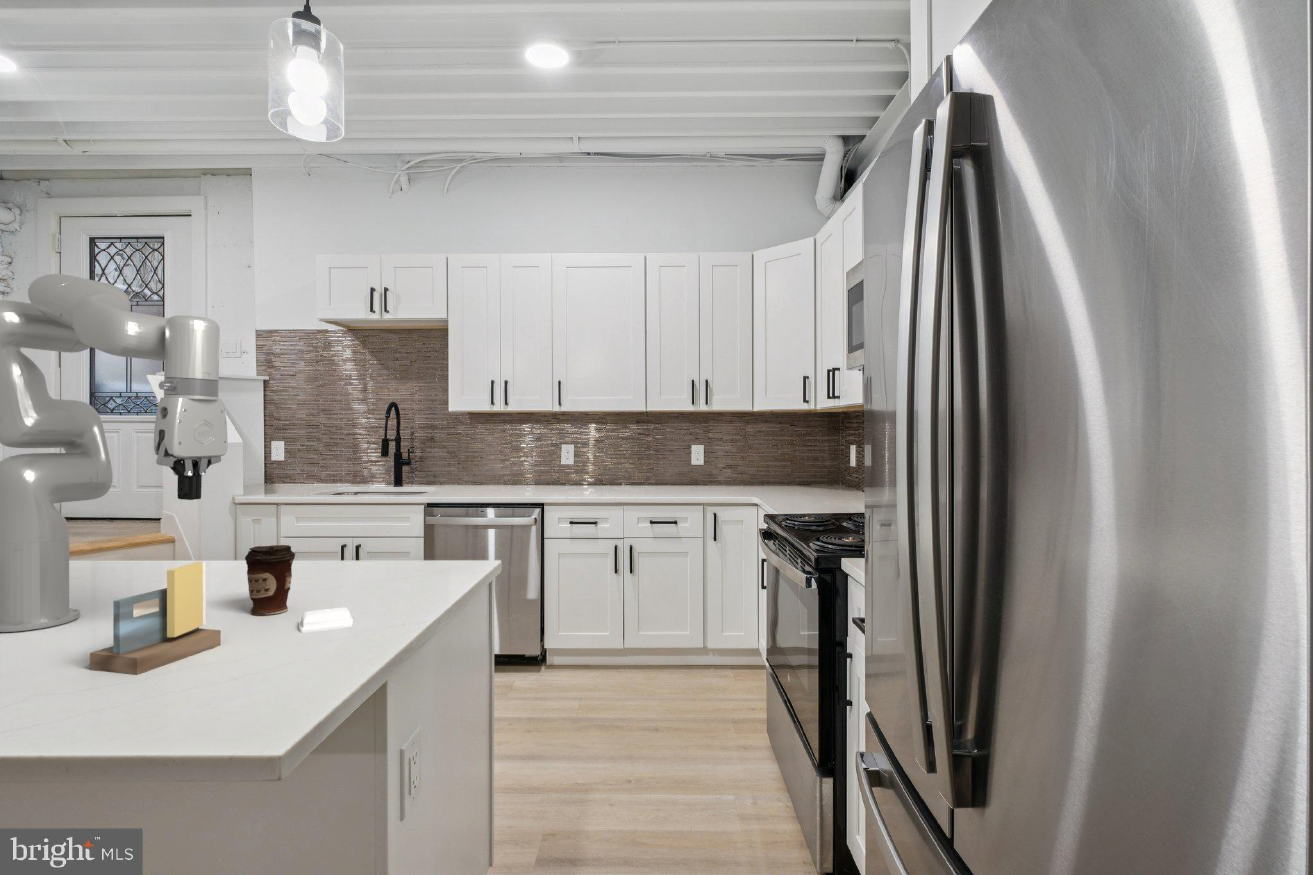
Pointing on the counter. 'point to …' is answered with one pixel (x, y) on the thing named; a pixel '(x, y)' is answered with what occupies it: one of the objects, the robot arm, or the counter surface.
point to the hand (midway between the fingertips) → (189, 498)
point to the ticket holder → (147, 637)
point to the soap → (325, 620)
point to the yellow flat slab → (186, 598)
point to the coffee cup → (269, 578)
